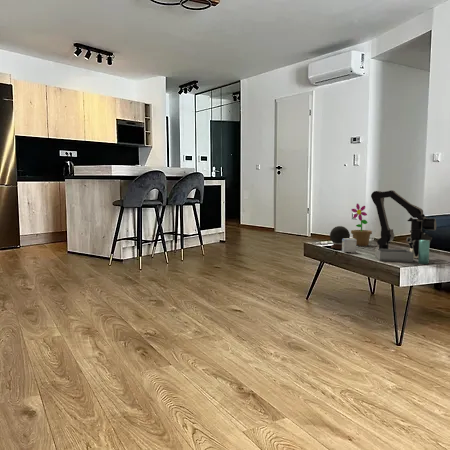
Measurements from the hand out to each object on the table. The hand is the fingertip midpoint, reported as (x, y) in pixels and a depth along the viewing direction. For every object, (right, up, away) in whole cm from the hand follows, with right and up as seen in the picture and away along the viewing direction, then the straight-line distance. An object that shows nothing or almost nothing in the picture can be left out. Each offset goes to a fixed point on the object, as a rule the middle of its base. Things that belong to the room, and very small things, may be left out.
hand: (415, 255), depth 247 cm
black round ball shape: (-34, +2, +39) cm, 52 cm away
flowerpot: (-14, +3, +56) cm, 58 cm away
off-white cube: (0, -1, 0) cm, 1 cm away
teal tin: (-4, -3, -19) cm, 20 cm away
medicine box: (-33, 0, +20) cm, 39 cm away
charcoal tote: (-16, -2, -7) cm, 17 cm away
